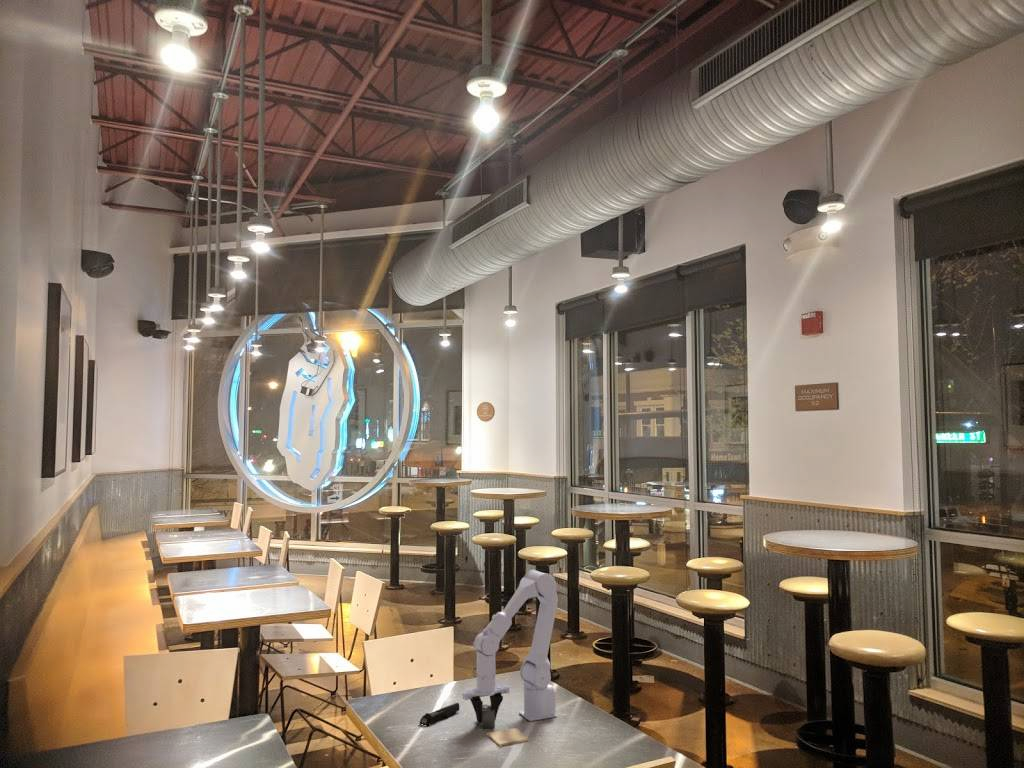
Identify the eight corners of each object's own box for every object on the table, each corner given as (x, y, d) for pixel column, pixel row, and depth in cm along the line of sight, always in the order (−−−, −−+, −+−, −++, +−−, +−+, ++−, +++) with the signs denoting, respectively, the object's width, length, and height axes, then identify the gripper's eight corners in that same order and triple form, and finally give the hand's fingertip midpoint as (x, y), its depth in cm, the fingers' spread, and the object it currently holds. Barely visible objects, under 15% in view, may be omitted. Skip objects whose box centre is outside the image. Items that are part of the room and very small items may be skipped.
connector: (496, 728, 223) (496, 711, 224) (484, 730, 222) (484, 713, 222) (485, 718, 231) (485, 701, 232) (473, 720, 230) (473, 703, 230)
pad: (515, 730, 222) (515, 727, 222) (528, 740, 214) (528, 738, 214) (487, 735, 218) (487, 732, 218) (499, 746, 210) (499, 744, 210)
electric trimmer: (462, 713, 237) (462, 703, 237) (427, 727, 225) (427, 716, 225) (454, 711, 239) (454, 700, 240) (418, 724, 227) (418, 714, 228)
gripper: (468, 681, 220) (468, 729, 219) (513, 674, 226) (513, 721, 225) (460, 674, 227) (460, 721, 226) (504, 668, 233) (504, 713, 231)
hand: (486, 720), depth 226 cm, fingers closed on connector, 4 cm apart
